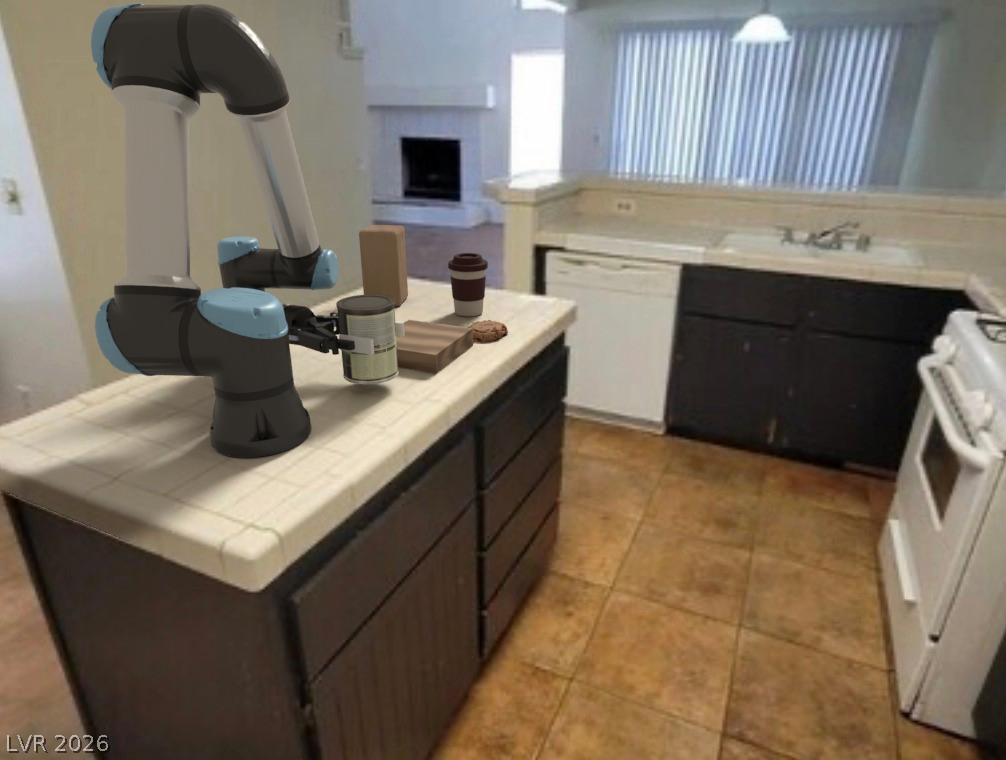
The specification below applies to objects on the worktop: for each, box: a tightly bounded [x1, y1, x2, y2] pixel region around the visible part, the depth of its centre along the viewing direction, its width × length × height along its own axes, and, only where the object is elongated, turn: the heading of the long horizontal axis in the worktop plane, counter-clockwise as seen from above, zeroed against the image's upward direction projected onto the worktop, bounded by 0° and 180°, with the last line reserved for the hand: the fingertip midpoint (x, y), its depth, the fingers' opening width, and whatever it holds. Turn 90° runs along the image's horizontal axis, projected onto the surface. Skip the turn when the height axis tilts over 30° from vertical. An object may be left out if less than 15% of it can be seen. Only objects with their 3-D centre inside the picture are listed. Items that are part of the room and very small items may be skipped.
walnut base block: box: [396, 319, 474, 374], centre depth 138 cm, size 18×16×4 cm
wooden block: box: [358, 224, 409, 307], centre depth 171 cm, size 10×10×20 cm
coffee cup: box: [447, 252, 489, 318], centre depth 163 cm, size 10×10×15 cm
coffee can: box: [335, 294, 399, 385], centre depth 118 cm, size 10×10×14 cm
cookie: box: [467, 319, 509, 343], centre depth 150 cm, size 10×11×3 cm
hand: (388, 337), depth 116 cm, fingers closed on coffee can, 10 cm apart
